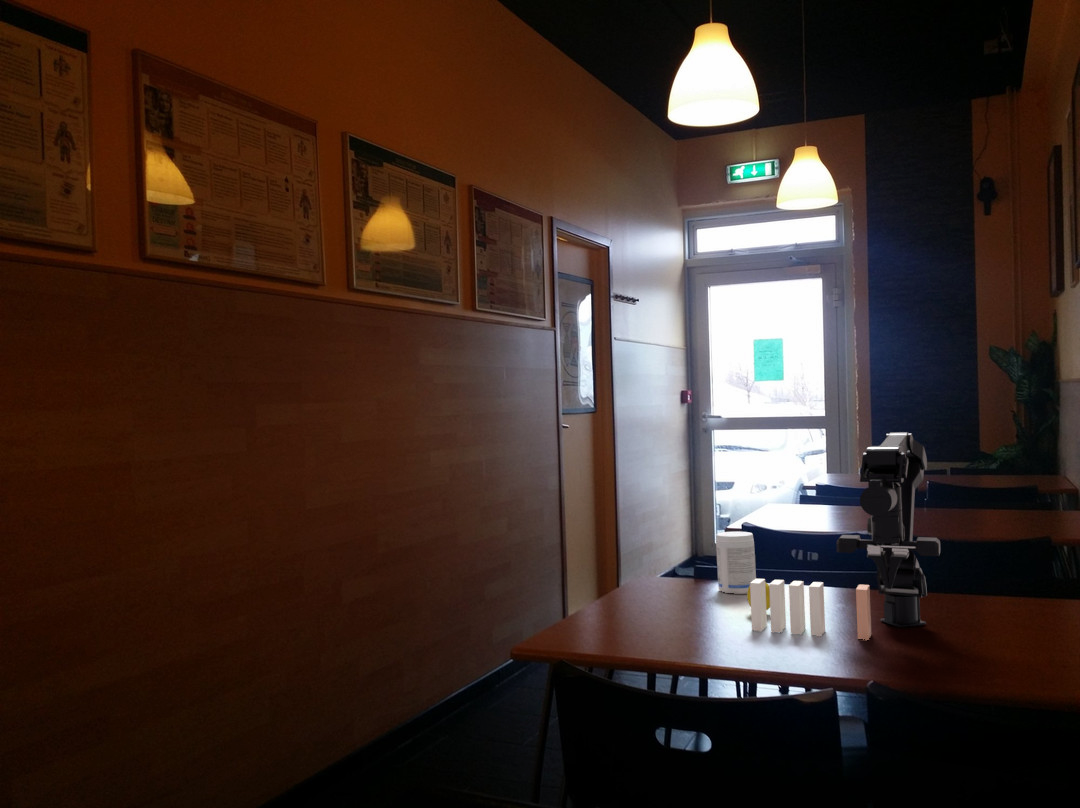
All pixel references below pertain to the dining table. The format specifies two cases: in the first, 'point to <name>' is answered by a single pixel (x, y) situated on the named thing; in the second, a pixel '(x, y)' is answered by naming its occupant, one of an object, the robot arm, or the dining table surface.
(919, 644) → the dining table surface
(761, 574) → the dining table surface
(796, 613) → the tile
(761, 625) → the tile end
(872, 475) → the robot arm
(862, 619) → the tile
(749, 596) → the lemon
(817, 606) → the tile
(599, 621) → the dining table surface
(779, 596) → the tile
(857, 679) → the dining table surface
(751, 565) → the supplement tub
